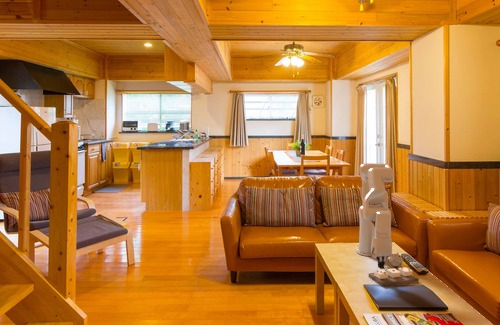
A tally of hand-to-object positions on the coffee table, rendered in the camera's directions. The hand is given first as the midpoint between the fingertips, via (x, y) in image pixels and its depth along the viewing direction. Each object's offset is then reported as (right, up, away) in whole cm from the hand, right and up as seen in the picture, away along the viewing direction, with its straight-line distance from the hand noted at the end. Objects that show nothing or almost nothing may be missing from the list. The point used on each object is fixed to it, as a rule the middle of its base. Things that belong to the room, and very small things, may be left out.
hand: (381, 267), depth 179 cm
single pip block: (+7, -4, +1) cm, 8 cm away
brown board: (+7, -7, +2) cm, 10 cm away
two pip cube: (+14, -4, +3) cm, 15 cm away
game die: (+16, -6, +19) cm, 26 cm away
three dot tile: (0, -5, 0) cm, 4 cm away
